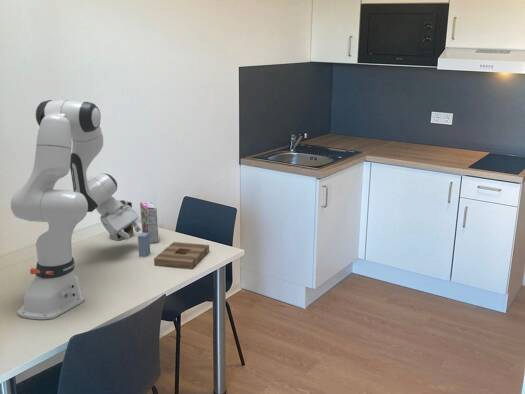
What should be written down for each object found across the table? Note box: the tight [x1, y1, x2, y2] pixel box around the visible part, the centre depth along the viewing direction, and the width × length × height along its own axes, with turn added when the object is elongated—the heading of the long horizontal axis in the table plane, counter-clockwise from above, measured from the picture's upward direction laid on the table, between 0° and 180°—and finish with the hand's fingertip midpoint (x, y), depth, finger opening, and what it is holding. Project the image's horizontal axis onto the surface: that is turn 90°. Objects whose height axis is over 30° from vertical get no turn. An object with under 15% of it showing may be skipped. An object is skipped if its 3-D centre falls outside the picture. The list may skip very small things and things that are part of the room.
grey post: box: [137, 232, 151, 258], centre depth 233 cm, size 4×3×9 cm, turn 166°
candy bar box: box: [139, 201, 159, 245], centre depth 251 cm, size 11×5×16 cm, turn 25°
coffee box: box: [109, 200, 134, 242], centre depth 254 cm, size 9×6×16 cm
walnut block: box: [153, 241, 210, 270], centre depth 230 cm, size 20×16×3 cm
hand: (134, 234), depth 233 cm, fingers open, 8 cm apart
